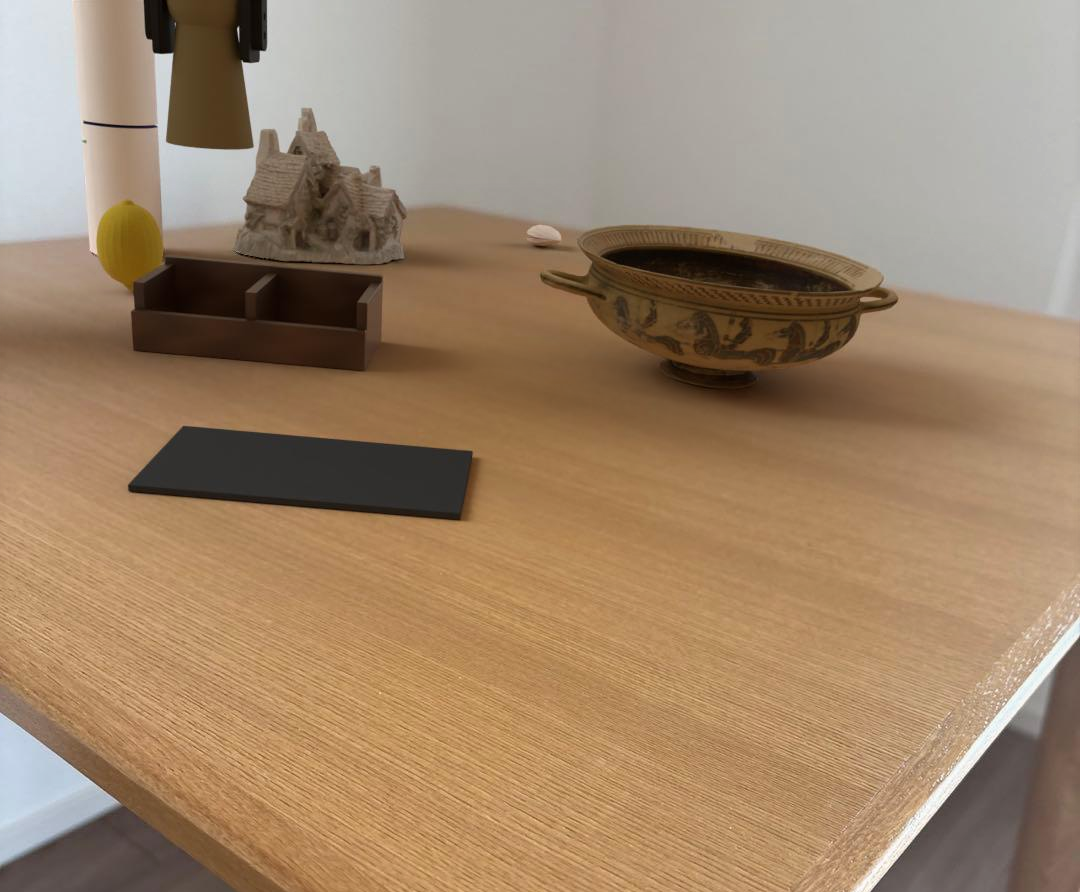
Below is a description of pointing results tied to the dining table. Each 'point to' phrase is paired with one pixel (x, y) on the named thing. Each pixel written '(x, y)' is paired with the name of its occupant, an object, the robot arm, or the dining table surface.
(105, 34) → the cylindrical container
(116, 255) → the lemon
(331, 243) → the ceramic cottage
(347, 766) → the dining table surface
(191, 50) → the cork
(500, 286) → the dining table surface
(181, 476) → the mat
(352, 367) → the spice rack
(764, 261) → the ceramic bowl
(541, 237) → the clam shell
